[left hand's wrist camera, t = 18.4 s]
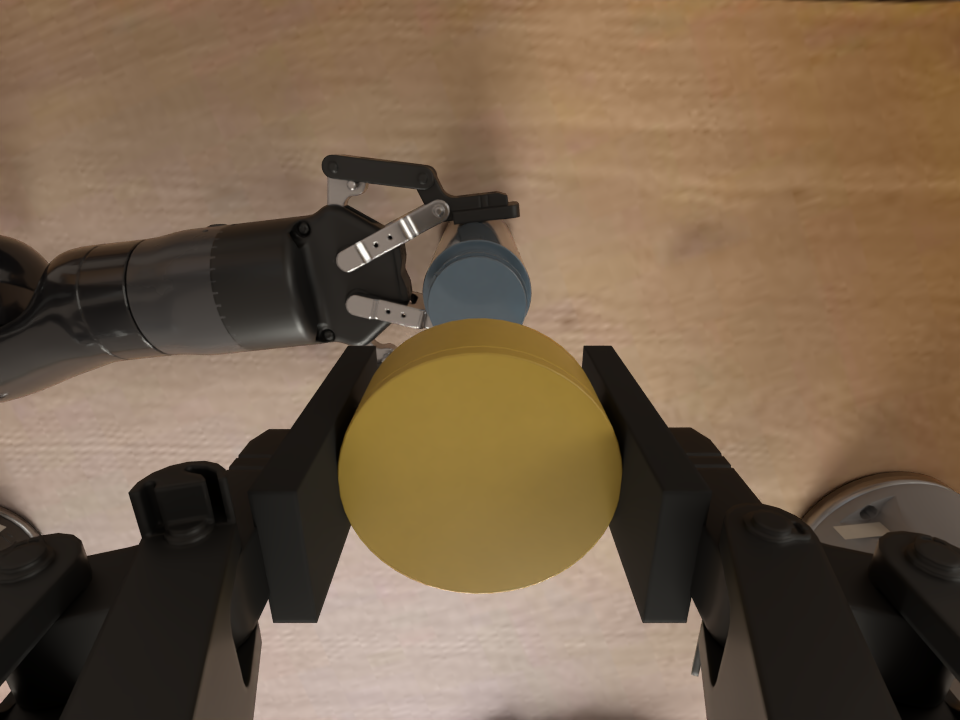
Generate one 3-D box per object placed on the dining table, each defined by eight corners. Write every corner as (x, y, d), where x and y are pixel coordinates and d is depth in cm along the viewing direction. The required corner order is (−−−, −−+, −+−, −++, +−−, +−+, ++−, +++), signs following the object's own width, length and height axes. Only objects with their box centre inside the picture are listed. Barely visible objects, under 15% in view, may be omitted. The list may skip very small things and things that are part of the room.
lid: (319, 464, 13) (289, 522, 11) (438, 268, 11) (428, 293, 9) (513, 561, 14) (518, 631, 12) (648, 398, 12) (683, 447, 10)
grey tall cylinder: (525, 231, 36) (558, 283, 22) (490, 292, 38) (498, 379, 23) (462, 195, 35) (452, 224, 21) (429, 259, 37) (398, 328, 22)
